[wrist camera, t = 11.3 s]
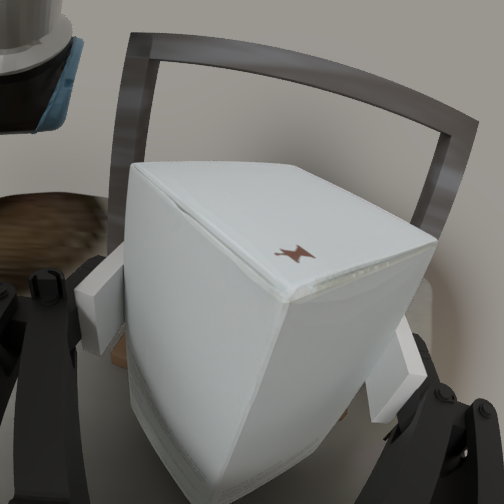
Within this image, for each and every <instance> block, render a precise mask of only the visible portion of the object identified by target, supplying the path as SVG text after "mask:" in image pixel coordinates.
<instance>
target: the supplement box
mask: <svg viewBox="0 0 504 504" xmlns="http://www.w3.org/2000/svg"><path fill="white" fill-rule="evenodd" d="M437 243H438V240H437V239H436V238H435V237H433V236H432V235H430V234H428V233H426V232H424V231H422V230H421V229H419V228H417V227H415V226H413V225H411V224H410V223H408V222H406V221H404V220H402V219H400V218H399V217H397V216H395V215H393V214H391V213H389V212H387V211H385V210H383V209H381V208H379V207H378V206H376V205H374V204H372V203H370V202H368V201H366V200H364V199H362V198H360V197H358V196H356V195H354V194H352V193H350V192H348V191H346V190H344V189H342V188H340V187H338V186H336V185H334V184H332V183H330V182H328V181H325V180H324V179H321V178H319V177H317V176H315V175H313V174H311V173H309V172H306V171H304V170H302V169H300V168H298V167H296V166H294V165H286V164H275V163H259V162H232V161H167V162H139V163H132V164H131V165H130V171H129V181H128V190H127V201H126V215H125V234H124V312H125V336H126V352H127V365H128V378H129V390H130V400H131V407H132V409H133V411H134V413H135V415H136V417H137V419H138V421H139V423H140V425H141V427H142V428H143V430H144V432H145V434H146V436H147V437H148V439H149V441H150V442H151V444H152V446H153V447H154V449H155V451H156V452H157V454H158V456H159V457H160V459H161V460H162V462H163V464H164V465H165V467H166V468H167V470H168V471H169V473H170V474H171V476H172V477H173V479H174V480H175V482H176V483H177V485H178V486H179V488H180V489H181V490H182V492H183V493H184V495H185V496H186V497H187V499H188V500H189V502H190V503H191V504H230V503H232V502H234V501H235V500H237V499H239V498H241V497H243V496H244V495H246V494H248V493H250V492H252V491H254V490H255V489H257V488H259V487H260V486H262V485H264V484H265V483H267V482H269V481H270V480H272V479H274V478H275V477H277V476H279V475H280V474H282V473H283V472H285V471H286V470H288V469H290V468H291V467H293V466H294V465H296V464H297V463H299V462H300V461H302V460H303V459H304V458H306V457H307V456H309V455H310V454H311V453H313V452H314V451H315V450H316V449H317V448H318V446H319V445H320V444H321V442H322V441H323V440H324V438H325V437H326V436H327V434H328V433H329V432H330V430H331V429H332V428H333V426H334V425H335V424H336V422H337V421H338V420H339V418H340V417H341V415H342V414H343V413H344V411H345V410H346V408H347V407H348V405H349V404H350V402H351V401H352V400H353V398H354V397H355V395H356V394H357V392H358V391H359V389H360V388H361V386H362V385H363V383H364V382H365V380H366V378H367V377H368V375H369V374H370V372H371V371H372V369H373V368H374V366H375V364H376V363H377V361H378V360H379V358H380V356H381V355H382V353H383V351H384V350H385V348H386V346H387V345H388V343H389V341H390V339H391V338H392V336H393V334H394V332H395V330H396V329H397V327H398V325H399V323H400V321H401V319H402V317H403V316H404V314H405V312H406V310H407V308H408V306H409V304H410V302H411V300H412V298H413V296H414V294H415V292H416V290H417V288H418V286H419V284H420V282H421V280H422V278H423V276H424V273H425V271H426V269H427V267H428V265H429V263H430V260H431V258H432V256H433V254H434V251H435V249H436V246H437Z"/></svg>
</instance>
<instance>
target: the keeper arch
mask: <svg viewBox="0 0 504 504" xmlns="http://www.w3.org/2000/svg"><path fill="white" fill-rule="evenodd" d="M160 61H168V62H179V63H188V64H198V65H205V66H213V67H219V68H226V69H232V70H238V71H243V72H249V73H254V74H259V75H264V76H269V77H274V78H278V79H282V80H287V81H291V82H295V83H299V84H303V85H307V86H311V87H314V88H318V89H322V90H325V91H329V92H332V93H336V94H339V95H342V96H346V97H349V98H352V99H355V100H358V101H361V102H364V103H367V104H370V105H373V106H376V107H379V108H382V109H384V110H387V111H389V112H392V113H395V114H397V115H400V116H403V117H405V118H408V119H410V120H412V121H415V122H417V123H420V124H422V125H425V126H427V127H429V128H431V129H434V130H436V131H438V132H440V133H441V134H440V137H439V140H438V144H437V147H436V150H435V153H434V157H433V160H432V163H431V166H430V169H429V172H428V175H427V178H426V181H425V184H424V187H423V190H422V193H421V195H420V198H419V201H418V203H417V206H416V209H415V211H414V214H413V217H412V219H411V222H410V224H411V225H413V226H415V227H417V228H419V229H421V230H422V231H424V232H426V233H428V234H430V235H432V236H433V237H435V238H436V239H437V240H438V239H439V237H440V235H441V232H442V230H443V227H444V225H445V222H446V220H447V217H448V215H449V213H450V210H451V207H452V205H453V202H454V199H455V197H456V194H457V191H458V188H459V186H460V182H461V180H462V177H463V174H464V171H465V168H466V165H467V161H468V159H469V155H470V152H471V149H472V146H473V142H474V139H475V135H476V132H477V128H478V124H479V121H477V120H475V119H473V118H471V117H469V116H467V115H466V114H463V113H462V112H460V111H458V110H456V109H454V108H452V107H450V106H448V105H446V104H443V103H442V102H439V101H437V100H435V99H433V98H431V97H429V96H426V95H424V94H422V93H419V92H417V91H415V90H412V89H410V88H408V87H405V86H403V85H400V84H398V83H395V82H393V81H390V80H387V79H385V78H382V77H379V76H376V75H374V74H371V73H368V72H365V71H362V70H359V69H356V68H353V67H349V66H346V65H343V64H340V63H337V62H333V61H329V60H326V59H322V58H318V57H315V56H311V55H307V54H303V53H299V52H294V51H290V50H285V49H281V48H277V47H272V46H266V45H261V44H256V43H249V42H243V41H237V40H230V39H223V38H215V37H206V36H196V35H183V34H169V33H137V32H135V33H134V32H133V33H131V34H130V38H129V43H128V48H127V52H126V57H125V62H124V67H123V73H122V79H121V85H120V91H119V97H118V104H117V111H116V118H115V126H114V135H113V144H112V155H111V167H110V181H109V199H108V236H107V254H108V256H109V255H110V254H111V253H112V252H113V251H114V250H115V249H116V248H117V247H118V246H119V245H120V244H121V243H122V242H124V234H125V215H126V201H127V190H128V181H129V171H130V165H131V164H132V163H139V162H144V156H145V147H146V139H147V133H148V126H149V119H150V112H151V106H152V101H153V94H154V89H155V84H156V79H157V73H158V68H159V64H160ZM111 359H112V364H115V365H118V366H120V367H123V368H126V369H128V365H127V352H126V336H125V332H124V334H123V336H122V337H121V339H120V340H119V342H118V343H117V345H116V346H115V348H114V349H113V351H112V353H111ZM346 414H347V408H346V410H345V411H344V413H343V414H342V415H341V417H340V418H339V420H342V419H343V418H344V416H345V415H346Z"/></svg>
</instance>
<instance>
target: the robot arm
mask: <svg viewBox="0 0 504 504" xmlns="http://www.w3.org/2000/svg"><path fill="white" fill-rule="evenodd" d="M61 6H62V0H0V135H5V134H6V135H7V134H27V133H31V134H35V133H37V132H43V131H53V130H56V129H58V128H59V127H61V126H62V125H63V123H64V121H65V119H66V115H67V111H68V106H69V101H70V97H71V92H72V87H73V83H74V79H75V75H76V72H77V68H78V64H79V60H80V56H81V53H82V49H83V45H84V41H83V39H80V38H77V37H76V36H75V37H72V24H71V22H70V21H69V19H68V18H67V17H66V16H65V15H63V14H61ZM28 281H29V287H30V292H31V297H32V298H30V297H23V296H17V294H16V290H15V287H14V286H13V285H12V284H10V283H6V282H1V283H0V425H1V422H2V419H3V416H4V413H5V410H6V407H7V404H8V401H9V398H10V396H11V393H12V390H13V388H14V385H15V382H16V380H17V377H18V382H17V392H16V403H15V417H14V444H13V461H14V487H15V494H14V498H13V499H12V500H10V501H9V503H8V504H90V499H89V494H88V488H87V482H86V476H85V469H84V462H83V454H82V445H81V436H80V424H79V411H78V391H77V351H76V345H77V343H78V342H79V341H80V340H82V346H83V350H86V351H88V352H90V353H93V354H95V355H98V356H100V357H101V355H102V354H103V352H104V351H105V349H106V348H107V346H108V345H109V343H110V342H111V340H112V339H113V338H114V336H115V335H116V333H117V332H118V330H119V329H120V327H121V326H122V324H123V323H124V322H125V312H124V242H122V243H121V244H120V245H119V246H118V247H117V248H116V249H115V250H114V251H113V252H112V253H111V254H110V255H109V256H108V257H103V256H100V255H97V256H95V257H93V258H90V259H88V260H87V261H86V262H85V263H83V264H82V265H81V267H79V268H78V269H77V270H76V271H75V273H73V274H72V275H70V276H69V277H68V278H67V279H66V280H65V278H64V274H63V273H62V272H61V271H59V270H57V269H53V268H45V269H40V270H37V271H35V272H34V273H33V274H31V275H30V277H29V279H28ZM428 352H429V351H428V349H427V346H426V344H425V342H424V341H423V340H422V339H421V337H420V336H419V335H418V334H414V333H412V332H411V330H410V327H409V325H408V322H407V320H406V317H405V315H404V316H403V317H402V319H401V321H400V323H399V325H398V327H397V329H396V330H395V332H394V334H393V336H392V338H391V339H390V341H389V343H388V345H387V346H386V348H385V350H384V351H383V353H382V355H381V356H380V358H379V360H378V361H377V363H376V364H375V366H374V368H373V369H372V371H371V372H370V374H369V375H368V377H367V378H366V380H365V383H366V389H367V396H368V402H369V409H370V416H371V422H375V423H388V424H389V423H390V421H391V420H392V419H393V418H394V417H395V416H396V415H397V418H398V424H397V425H396V426H395V427H394V428H393V429H392V430H391V431H390V432H389V433H388V434H387V435H386V437H385V438H384V439H383V440H384V441H386V440H387V439H388V438H389V439H388V441H387V443H386V445H385V447H384V449H383V451H382V453H381V455H380V457H379V459H378V461H377V463H376V465H375V467H374V469H373V471H372V473H371V475H370V477H369V478H368V480H367V482H366V484H365V486H364V488H363V489H362V491H361V493H360V495H359V496H358V498H357V500H356V501H355V503H354V504H504V463H503V453H502V444H501V437H500V430H499V423H498V418H497V413H496V410H495V408H494V407H493V405H492V404H491V403H490V402H489V401H487V400H485V399H481V398H479V399H476V400H475V401H474V402H473V403H472V404H471V405H470V406H469V405H466V404H463V403H461V402H458V401H457V398H456V395H455V393H454V392H453V391H452V389H451V388H450V387H448V386H447V385H446V384H443V383H440V381H439V378H438V375H437V373H436V370H435V367H434V364H433V362H432V360H431V357H430V354H429V353H428ZM465 450H467V451H468V453H467V456H466V457H465V455H464V451H465Z"/></svg>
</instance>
